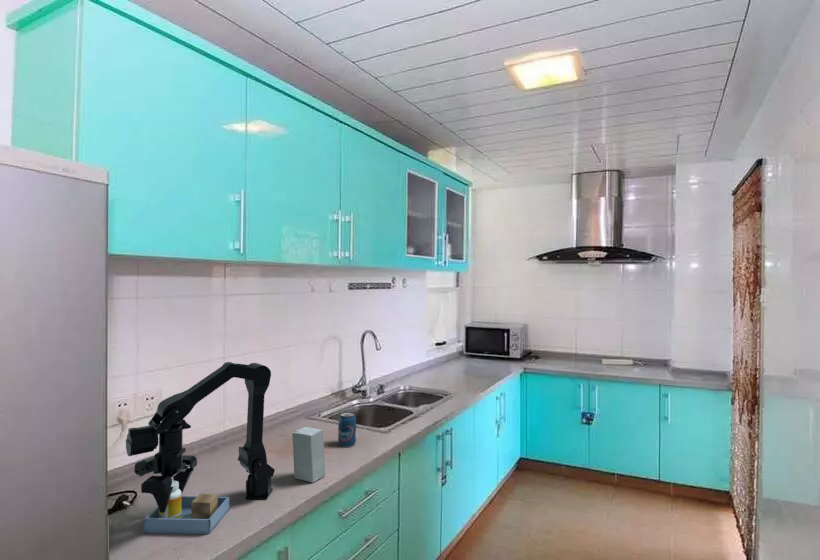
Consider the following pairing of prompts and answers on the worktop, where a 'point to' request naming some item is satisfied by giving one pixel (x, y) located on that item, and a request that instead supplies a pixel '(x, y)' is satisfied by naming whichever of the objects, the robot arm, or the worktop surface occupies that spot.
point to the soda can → (347, 429)
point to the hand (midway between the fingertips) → (170, 504)
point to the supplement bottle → (173, 503)
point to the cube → (204, 506)
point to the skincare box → (308, 454)
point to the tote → (186, 519)
